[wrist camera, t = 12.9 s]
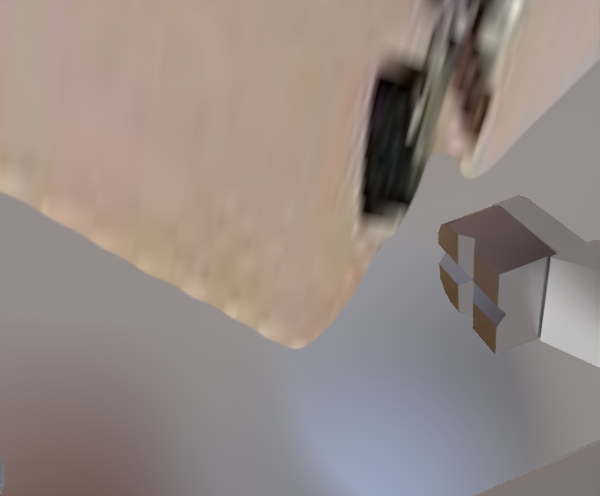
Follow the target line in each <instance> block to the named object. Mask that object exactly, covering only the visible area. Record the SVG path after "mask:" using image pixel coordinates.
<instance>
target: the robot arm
mask: <svg viewBox="0 0 600 496" xmlns="http://www.w3.org/2000/svg"><path fill="white" fill-rule="evenodd" d="M438 236H439V237H438V243H439V245H440V246H441V247H442V248H443V249H444V251H445V252H446V253H445V255H444V257H443V258H442V260H441V261H440V263H439V268H440V279H441V282H442V284H443V287H444V290H445V293H446V295H447V296H448V298H449V300H450V302H451V303H452V304H453V306H454V307H455V308H456V309H457V310H458V312H460V313H464V314H466V315H469V316H472V317H473V329H474V331H475V332H476V333H477V334H478V335H479V336H480V338H481V339H482V340H483V341H484V342H485V343H486V345H487V346H488V347H489V348H490V349H491V350H492V352H493V353H494V354H499V353H501V352H504V351H506V350H509V349H512V348H515V347H517V346H520V345H523V344H525V343H528V342H531V341H533V340H535V339H538V338H540V340H541V341H543V342H545V343H547V344H549V345H552V346H554V347H556V348H558V349H560V350H562V351H565V352H567V353H569V354H571V355H573V356H575V357H578V358H580V359H582V360H584V361H587V362H589V363H591V364H593V365H595V366H597V367H600V241H598V240H593V241H590V242H585V241H584V240H583V239H581V238H580V237H579V236H577V235H576V234H575V233H573V232H572V231H571V230H569V229H568V228H567V227H565V226H564V225H563V224H561V223H560V222H559V221H557V220H556V219H555V218H553V217H552V216H551V215H549V214H548V213H547V212H545V211H544V210H542V209H541V208H540V207H539V206H537V205H536V204H535V203H533V202H532V201H531V200H529V199H528V198H526V197H524V196H519V195H518V196H515V197H513V198H510V199H507V200H505V201H502V202H500V203H497V204H494V205H493V206H492V207H488V208H485V209H482V210H480V211H477V212H474V213H472V214H469V215H467V216H464V217H461V218H458V219H455V220H453V221H450V222H448V223H445V224H442V225H441V226H440V229H439V232H438ZM4 477H5V472H4V467H3V462H2V456H1V454H0V494H1V493H2V491H3V490H4V489H3V488H4ZM474 496H600V439H599V440H597V441H595V442H593V443H590V444H588V445H586V446H584V447H582V448H579V449H577V450H575V451H572V452H570V453H568V454H566V455H564V456H561V457H559V458H557V459H555V460H553V461H550V462H548V463H546V464H543V465H541V466H539V467H537V468H534V469H532V470H530V471H528V472H526V473H523V474H521V475H519V476H517V477H514V478H512V479H510V480H508V481H506V482H503V483H501V484H499V485H496V486H494V487H492V488H490V489H487V490H485V491H483V492H481V493H478V494H476V495H474Z"/></svg>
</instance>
